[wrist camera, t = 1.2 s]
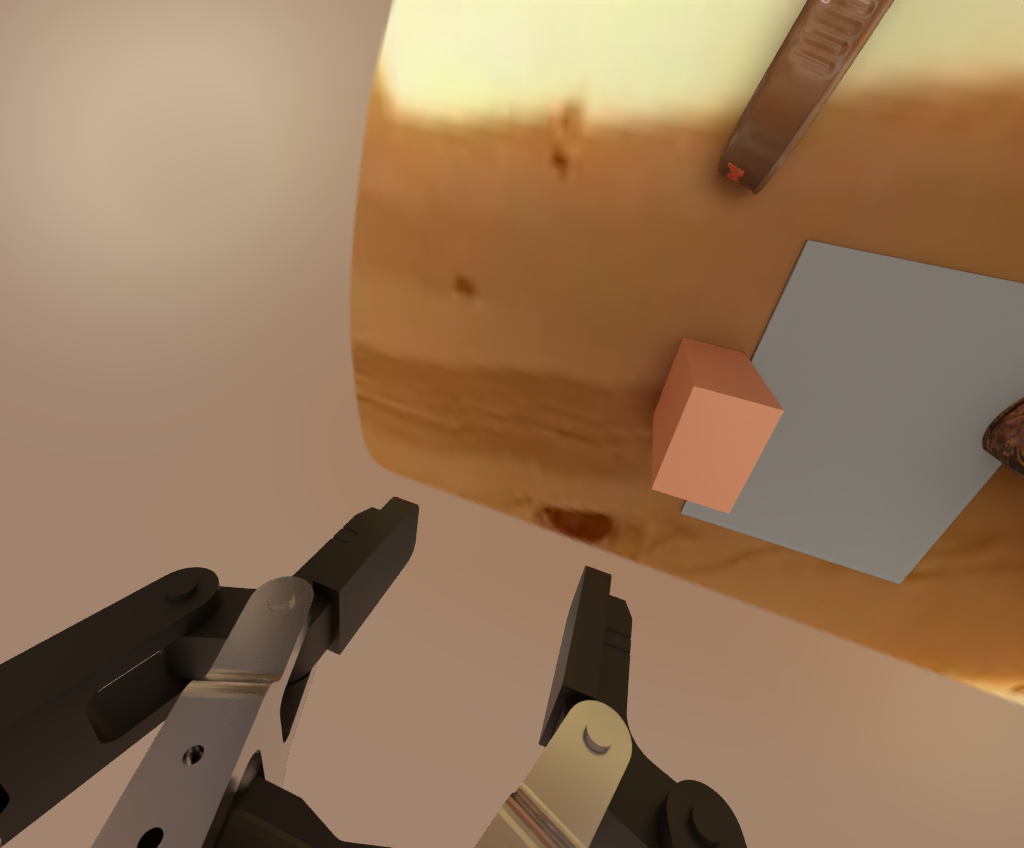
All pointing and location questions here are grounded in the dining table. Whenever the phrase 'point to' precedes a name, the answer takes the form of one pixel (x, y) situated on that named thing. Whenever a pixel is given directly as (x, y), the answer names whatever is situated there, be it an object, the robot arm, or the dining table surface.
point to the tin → (798, 86)
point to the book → (1007, 438)
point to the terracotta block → (710, 425)
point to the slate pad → (877, 406)
